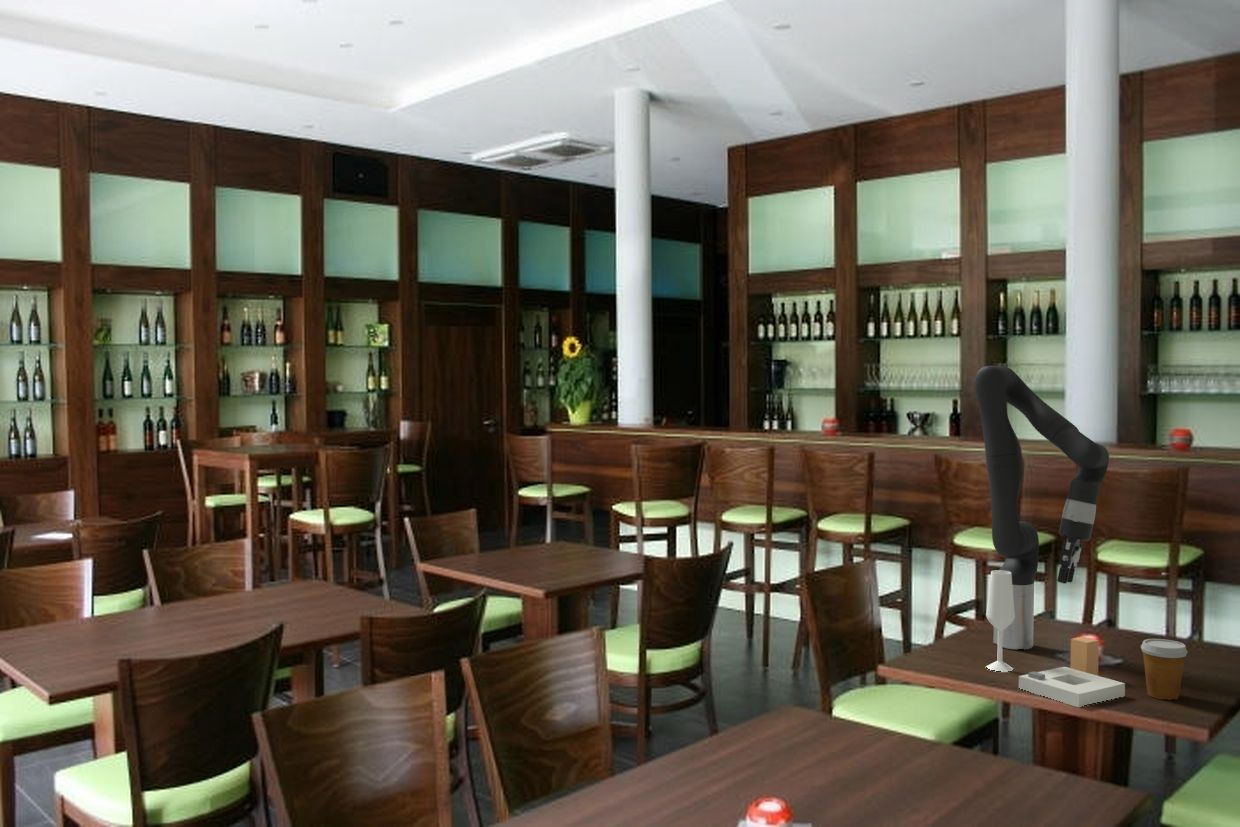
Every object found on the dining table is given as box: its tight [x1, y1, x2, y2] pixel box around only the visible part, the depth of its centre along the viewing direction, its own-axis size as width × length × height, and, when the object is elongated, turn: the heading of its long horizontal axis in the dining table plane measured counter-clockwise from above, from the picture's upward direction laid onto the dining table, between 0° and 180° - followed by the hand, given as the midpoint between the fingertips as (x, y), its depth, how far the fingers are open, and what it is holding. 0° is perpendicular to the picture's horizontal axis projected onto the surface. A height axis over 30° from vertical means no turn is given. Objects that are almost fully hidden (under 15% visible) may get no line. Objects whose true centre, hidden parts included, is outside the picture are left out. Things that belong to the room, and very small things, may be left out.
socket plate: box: [1018, 666, 1126, 708], centre depth 248 cm, size 16×16×4 cm
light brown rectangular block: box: [1069, 636, 1100, 676], centre depth 261 cm, size 4×4×9 cm
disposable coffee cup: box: [1140, 638, 1189, 701], centre depth 245 cm, size 10×10×12 cm
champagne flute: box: [985, 569, 1015, 673], centre depth 267 cm, size 7×7×24 cm
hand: (1064, 582), depth 274 cm, fingers open, 8 cm apart
